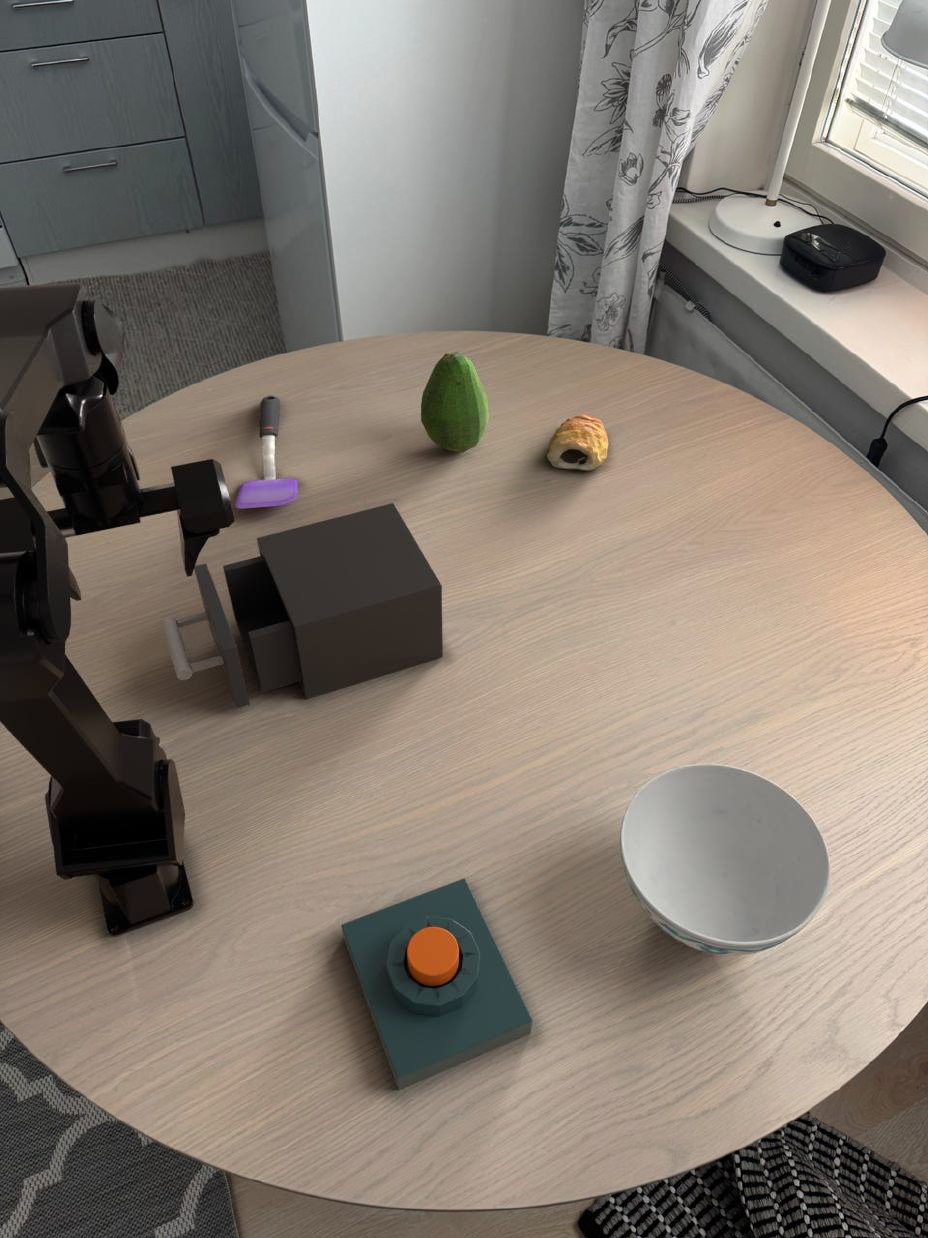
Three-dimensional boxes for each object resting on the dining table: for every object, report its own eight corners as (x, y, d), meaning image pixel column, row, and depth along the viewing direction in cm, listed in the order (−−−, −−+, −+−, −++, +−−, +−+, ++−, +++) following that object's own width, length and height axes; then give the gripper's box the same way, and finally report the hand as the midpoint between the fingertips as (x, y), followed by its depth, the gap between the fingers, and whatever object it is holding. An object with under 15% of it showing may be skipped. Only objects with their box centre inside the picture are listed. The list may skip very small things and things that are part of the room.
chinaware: (654, 1018, 71) (670, 969, 66) (581, 842, 81) (590, 787, 76) (841, 965, 74) (872, 914, 68) (748, 801, 84) (769, 745, 79)
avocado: (467, 420, 123) (468, 332, 115) (499, 453, 119) (502, 364, 110) (410, 437, 121) (406, 349, 112) (439, 472, 116) (438, 383, 107)
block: (531, 1033, 70) (534, 1009, 68) (398, 1091, 68) (396, 1068, 65) (464, 891, 78) (465, 865, 75) (343, 938, 75) (338, 912, 72)
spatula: (246, 403, 126) (242, 386, 124) (300, 400, 126) (297, 383, 125) (237, 525, 109) (233, 508, 107) (299, 521, 110) (296, 503, 108)
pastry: (560, 423, 123) (562, 397, 120) (614, 432, 122) (618, 405, 119) (544, 468, 117) (547, 441, 114) (601, 477, 115) (605, 450, 113)
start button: (466, 975, 70) (466, 963, 68) (418, 994, 69) (418, 983, 67) (447, 931, 72) (446, 919, 71) (400, 949, 71) (399, 937, 70)
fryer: (306, 699, 92) (294, 627, 85) (270, 610, 100) (256, 537, 93) (443, 657, 96) (442, 584, 89) (397, 574, 104) (393, 502, 97)
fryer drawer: (190, 723, 89) (172, 664, 83) (165, 637, 96) (147, 578, 90) (368, 668, 93) (362, 609, 88) (331, 590, 101) (323, 532, 95)
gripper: (195, 357, 80) (228, 499, 92) (-52, 400, 76) (16, 542, 88) (218, 446, 73) (249, 586, 85) (-52, 497, 69) (21, 637, 81)
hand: (134, 584), depth 85 cm, fingers open, 9 cm apart
